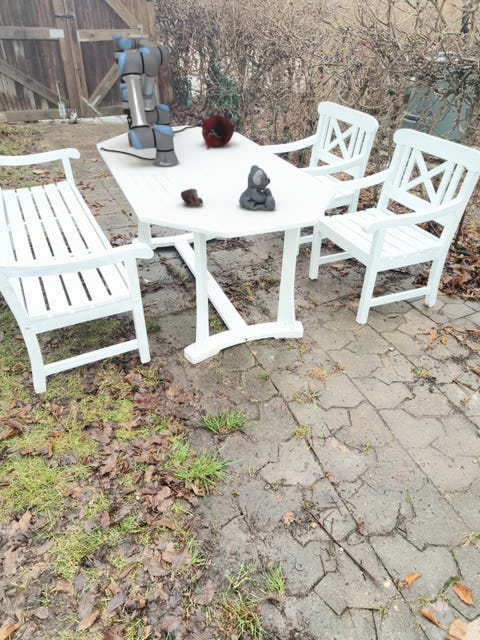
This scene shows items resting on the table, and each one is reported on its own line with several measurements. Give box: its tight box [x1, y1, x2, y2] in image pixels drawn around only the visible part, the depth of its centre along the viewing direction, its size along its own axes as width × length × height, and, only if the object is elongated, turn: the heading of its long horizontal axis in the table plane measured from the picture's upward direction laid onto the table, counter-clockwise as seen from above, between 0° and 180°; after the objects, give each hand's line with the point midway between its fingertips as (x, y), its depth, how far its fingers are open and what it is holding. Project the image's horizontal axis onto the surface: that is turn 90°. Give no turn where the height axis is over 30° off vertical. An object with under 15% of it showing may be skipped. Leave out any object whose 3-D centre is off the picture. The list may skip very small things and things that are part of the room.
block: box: [127, 131, 133, 146], centre depth 332 cm, size 6×5×8 cm
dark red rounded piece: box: [200, 114, 235, 150], centre depth 329 cm, size 21×24×25 cm
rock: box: [180, 188, 204, 207], centre depth 229 cm, size 12×9×10 cm
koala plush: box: [238, 164, 276, 211], centre depth 224 cm, size 17×18×20 cm
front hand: (132, 142), depth 333 cm, fingers closed on block, 5 cm apart
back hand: (124, 88), depth 359 cm, fingers open, 13 cm apart
